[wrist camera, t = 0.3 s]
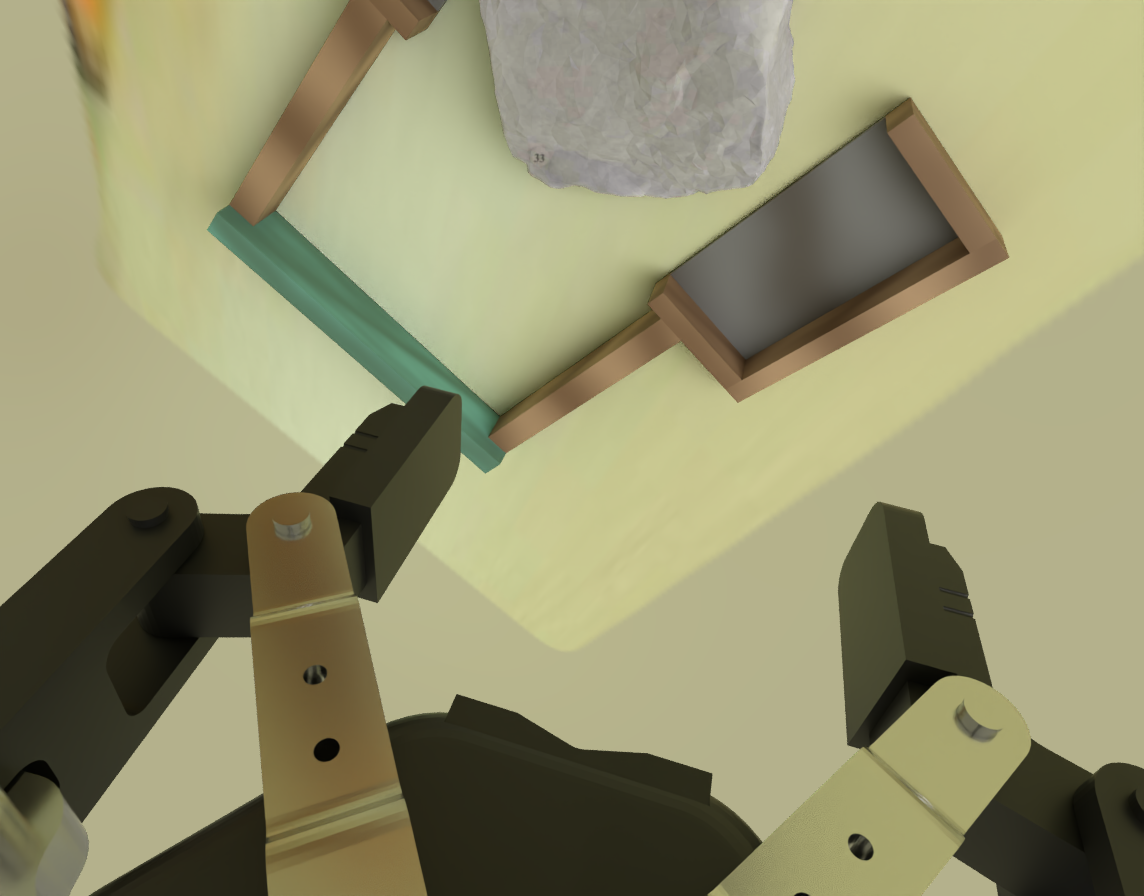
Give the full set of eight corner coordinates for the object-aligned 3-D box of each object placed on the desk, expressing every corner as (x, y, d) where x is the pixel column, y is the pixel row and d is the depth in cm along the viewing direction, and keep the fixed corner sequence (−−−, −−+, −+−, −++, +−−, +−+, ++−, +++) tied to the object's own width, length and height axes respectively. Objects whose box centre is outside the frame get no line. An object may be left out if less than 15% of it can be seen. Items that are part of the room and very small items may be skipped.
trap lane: (488, -542, 20) (443, -584, 18) (1001, 235, 29) (1013, 269, 27) (171, 142, 38) (130, 163, 35) (551, 486, 47) (536, 518, 45)
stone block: (793, 148, 31) (813, -136, 23) (780, 214, 28) (797, -82, 21) (542, 150, 35) (487, -94, 27) (509, 209, 32) (438, -43, 24)
